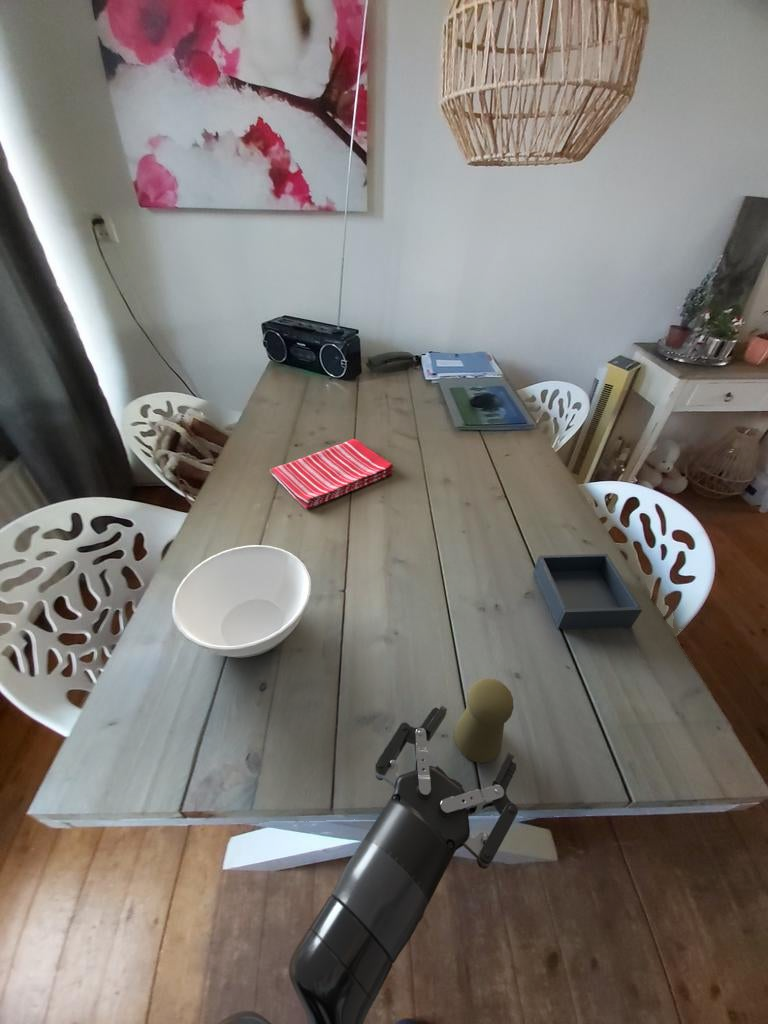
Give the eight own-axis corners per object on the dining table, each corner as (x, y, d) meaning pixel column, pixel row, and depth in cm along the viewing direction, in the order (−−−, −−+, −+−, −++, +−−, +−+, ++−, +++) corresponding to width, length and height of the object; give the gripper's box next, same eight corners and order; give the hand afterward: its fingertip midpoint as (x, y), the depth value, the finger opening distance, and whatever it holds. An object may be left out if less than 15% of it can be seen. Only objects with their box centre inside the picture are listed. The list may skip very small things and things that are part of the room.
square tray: (632, 626, 70) (642, 609, 67) (557, 629, 70) (565, 612, 67) (598, 570, 80) (607, 553, 77) (533, 572, 79) (538, 555, 76)
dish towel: (396, 474, 102) (396, 464, 100) (307, 512, 91) (306, 502, 89) (354, 443, 112) (354, 434, 111) (269, 474, 101) (268, 464, 99)
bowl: (160, 638, 67) (142, 604, 62) (256, 563, 79) (248, 529, 74) (249, 710, 58) (237, 677, 53) (340, 613, 71) (338, 578, 66)
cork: (506, 763, 54) (526, 721, 47) (456, 762, 54) (469, 720, 47) (496, 715, 59) (513, 670, 52) (451, 713, 59) (462, 668, 52)
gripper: (465, 932, 35) (543, 759, 45) (332, 806, 41) (426, 679, 51) (454, 946, 40) (526, 786, 50) (336, 831, 46) (421, 711, 56)
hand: (475, 732), depth 51 cm, fingers open, 8 cm apart
